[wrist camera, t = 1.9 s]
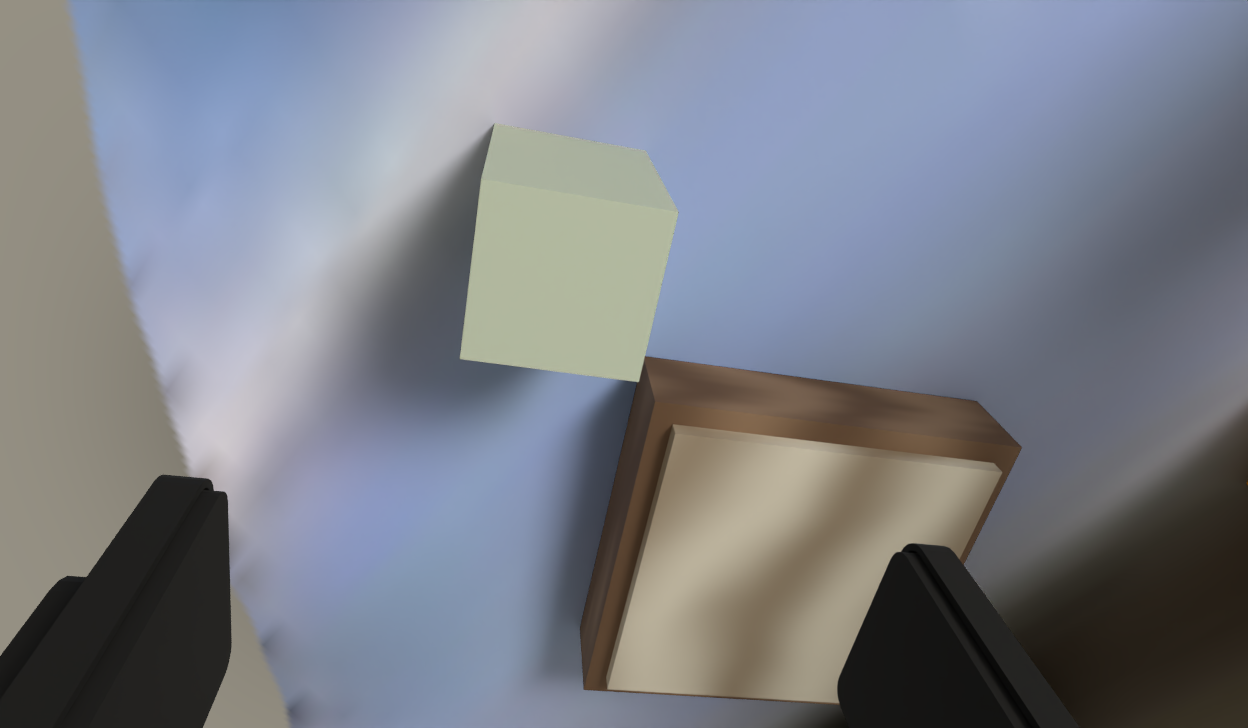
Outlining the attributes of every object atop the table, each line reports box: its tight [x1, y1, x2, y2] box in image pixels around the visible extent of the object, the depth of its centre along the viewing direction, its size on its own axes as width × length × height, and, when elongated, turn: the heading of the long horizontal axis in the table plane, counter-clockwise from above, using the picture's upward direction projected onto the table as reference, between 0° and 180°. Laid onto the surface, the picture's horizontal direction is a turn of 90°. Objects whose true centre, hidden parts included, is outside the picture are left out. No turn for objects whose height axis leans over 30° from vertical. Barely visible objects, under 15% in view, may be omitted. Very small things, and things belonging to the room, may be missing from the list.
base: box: [580, 356, 1022, 705], centre depth 32 cm, size 14×14×4 cm
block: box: [460, 123, 679, 382], centre depth 24 cm, size 5×5×7 cm
